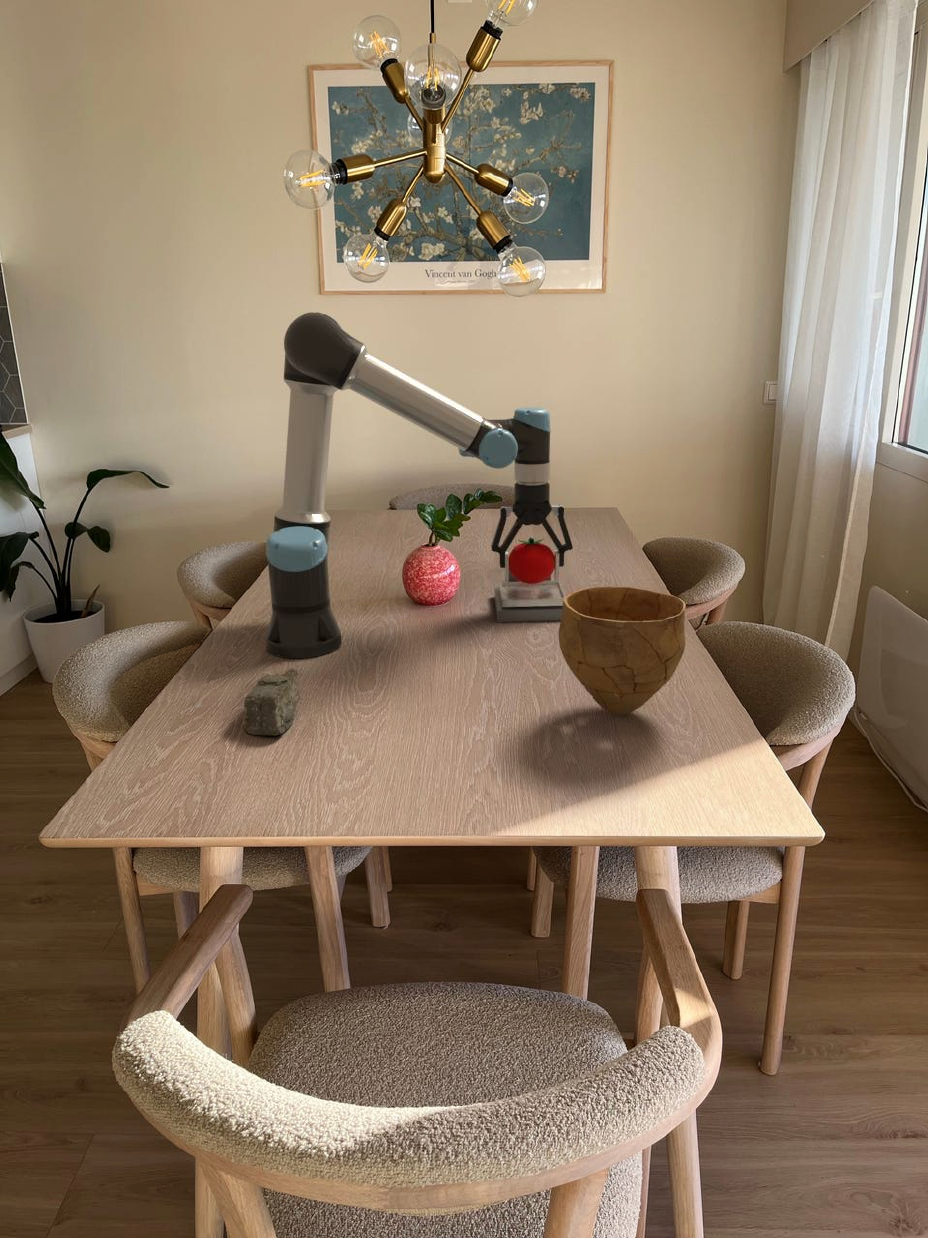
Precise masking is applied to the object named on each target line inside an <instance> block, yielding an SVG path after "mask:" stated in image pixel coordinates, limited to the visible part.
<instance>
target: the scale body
mask: <svg viewBox="0 0 928 1238" xmlns="http://www.w3.org/2000/svg"><path fill="white" fill-rule="evenodd" d="M547 580H552V575H551V576H550V577H549V578H547V579H546V580H544V581H547ZM509 581H519V580H517V579H516V578H515V577H514V576H513V575H512V573H511V572H510V570H509ZM562 587H563V589H564V592H565V594H566V595H567V592H566V591H565V588H564V585H563V584H562ZM493 589H494V590H493V594H494V595H493V598H494V605H495V612H496V618H497V622H498V623H499V622H500V623H501V622H503V623H505V622H538V621H539V622H542V621H544V622H545V621H561V618H562V609H563V606H526V607H502V603H501V597H500V591H499V586H494V587H493Z"/></svg>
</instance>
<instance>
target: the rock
mask: <svg viewBox="0 0 928 1238" xmlns="http://www.w3.org/2000/svg"><path fill="white" fill-rule="evenodd" d="M299 684H300V683H299V675H298V670H297V669H296V668H291V669H289V670H287V671H286V672H283V673H279V672H278V673H274V674H272V675H268V674H266V675H264V676H263V677H261V678H260V679H259V680H258V681H257V684H256V685H255V686H254V688H253V689H252V691H250V692H249V693H248V694H247V695H246V697H244V704H243V705H244V706H243V707H244V718H245V719H244V718H243V721H242V725H243V727H244V728H245V730H246V732H247V733H249V734H250V735H256V736H271V737H272V736H274V737H276V736H279V735H281V734H284V733H285V732H286V731H287V730H289V728H290V727H292V725H293V723H294V717H295V711H296V704H297V702H298V701H299V700H300V699H301V694H300V691H299V686H300V685H299Z"/></svg>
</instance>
